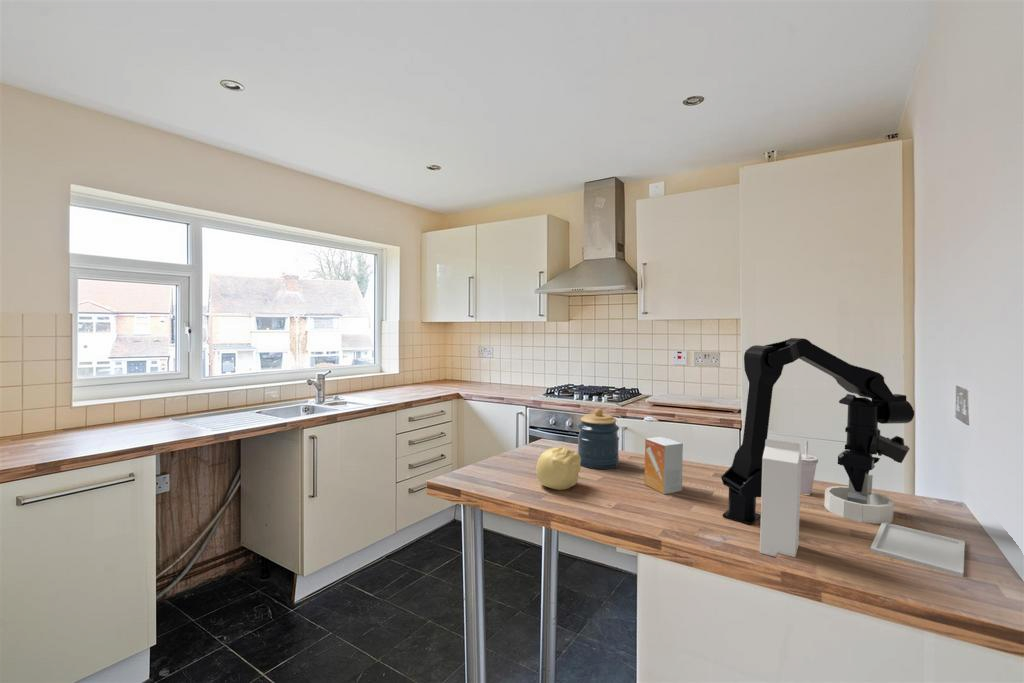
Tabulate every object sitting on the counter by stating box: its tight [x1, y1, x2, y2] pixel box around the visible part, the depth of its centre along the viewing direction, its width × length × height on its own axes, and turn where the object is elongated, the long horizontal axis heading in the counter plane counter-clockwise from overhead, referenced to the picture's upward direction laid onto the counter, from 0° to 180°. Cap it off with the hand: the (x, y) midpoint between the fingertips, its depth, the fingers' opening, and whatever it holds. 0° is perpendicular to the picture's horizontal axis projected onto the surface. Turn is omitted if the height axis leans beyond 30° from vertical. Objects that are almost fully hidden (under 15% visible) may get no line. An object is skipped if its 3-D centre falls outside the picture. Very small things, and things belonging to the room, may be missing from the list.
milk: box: [759, 438, 802, 558], centre depth 92 cm, size 6×6×22 cm
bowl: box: [824, 485, 895, 525], centre depth 110 cm, size 13×13×5 cm
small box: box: [643, 436, 684, 495], centre depth 127 cm, size 8×6×13 cm
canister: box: [577, 407, 620, 470], centre depth 149 cm, size 13×13×18 cm
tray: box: [869, 522, 966, 578], centre depth 92 cm, size 17×13×2 cm
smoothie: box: [800, 440, 819, 495], centre depth 124 cm, size 6×6×14 cm
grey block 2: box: [847, 492, 868, 504], centre depth 108 cm, size 4×4×4 cm
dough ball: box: [535, 445, 582, 491], centre depth 129 cm, size 12×12×11 cm
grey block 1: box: [848, 474, 874, 496], centre depth 111 cm, size 4×4×4 cm
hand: (859, 489), depth 111 cm, fingers closed on grey block 1, 4 cm apart
